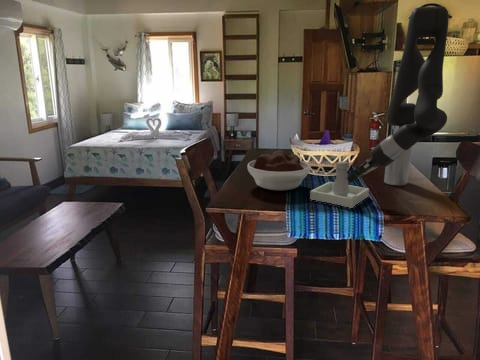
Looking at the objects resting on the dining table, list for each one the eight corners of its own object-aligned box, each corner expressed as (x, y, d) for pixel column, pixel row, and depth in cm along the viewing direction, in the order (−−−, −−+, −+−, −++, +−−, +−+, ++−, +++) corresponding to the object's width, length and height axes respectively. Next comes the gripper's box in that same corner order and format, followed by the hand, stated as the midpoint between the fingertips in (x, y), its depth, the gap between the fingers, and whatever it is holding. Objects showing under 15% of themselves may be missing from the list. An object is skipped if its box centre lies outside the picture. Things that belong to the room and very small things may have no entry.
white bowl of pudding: (318, 194, 154) (321, 156, 150) (255, 198, 149) (255, 158, 145) (297, 178, 178) (298, 144, 174) (241, 180, 173) (241, 146, 169)
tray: (328, 190, 160) (329, 181, 159) (368, 197, 151) (369, 188, 150) (309, 200, 148) (310, 190, 147) (351, 208, 139) (352, 199, 138)
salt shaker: (348, 199, 146) (351, 164, 142) (332, 198, 147) (335, 163, 144) (348, 194, 151) (350, 160, 148) (332, 193, 152) (334, 159, 149)
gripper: (388, 139, 141) (354, 166, 151) (374, 144, 130) (338, 173, 140) (402, 155, 139) (367, 182, 149) (389, 162, 128) (352, 191, 138)
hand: (353, 178), depth 144 cm, fingers open, 8 cm apart
